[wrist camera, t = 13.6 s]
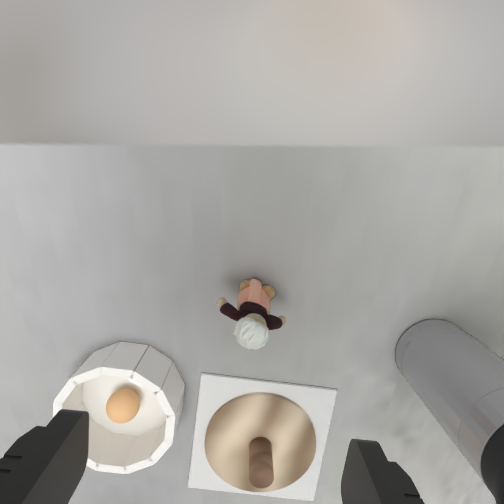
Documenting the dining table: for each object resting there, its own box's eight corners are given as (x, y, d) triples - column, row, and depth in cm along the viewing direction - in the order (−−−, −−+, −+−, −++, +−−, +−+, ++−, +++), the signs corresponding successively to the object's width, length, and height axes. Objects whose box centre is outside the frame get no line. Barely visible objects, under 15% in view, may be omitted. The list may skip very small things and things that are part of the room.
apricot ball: (145, 383, 45) (135, 403, 41) (142, 410, 46) (132, 432, 42) (114, 380, 45) (100, 399, 41) (112, 407, 46) (99, 429, 42)
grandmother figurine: (284, 280, 43) (298, 323, 31) (280, 309, 44) (292, 362, 31) (222, 272, 43) (211, 313, 30) (219, 302, 44) (207, 353, 31)
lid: (324, 399, 46) (334, 432, 40) (304, 491, 49) (312, 534, 44) (211, 385, 46) (206, 416, 40) (199, 479, 49) (192, 521, 43)
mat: (336, 388, 46) (337, 390, 46) (312, 498, 50) (313, 501, 50) (201, 372, 46) (201, 374, 45) (188, 484, 50) (187, 487, 49)
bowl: (188, 349, 45) (179, 376, 39) (178, 441, 48) (168, 478, 42) (79, 336, 45) (53, 361, 39) (76, 429, 48) (52, 465, 42)
